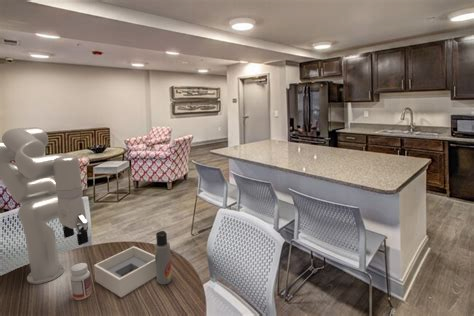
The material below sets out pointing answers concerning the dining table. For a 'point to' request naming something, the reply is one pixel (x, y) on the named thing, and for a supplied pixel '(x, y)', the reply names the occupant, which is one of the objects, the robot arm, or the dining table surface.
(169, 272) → the lotion bottle
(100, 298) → the dining table surface
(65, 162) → the robot arm
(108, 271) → the box
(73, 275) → the pill bottle
